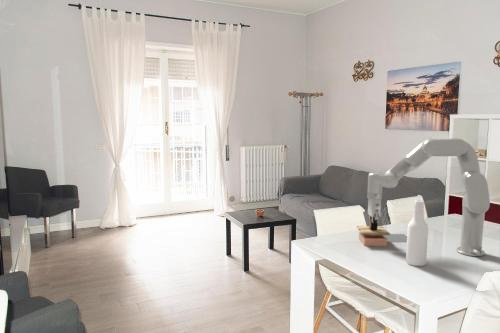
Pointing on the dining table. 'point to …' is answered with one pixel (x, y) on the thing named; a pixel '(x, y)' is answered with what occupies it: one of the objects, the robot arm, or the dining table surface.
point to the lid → (367, 230)
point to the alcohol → (417, 237)
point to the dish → (373, 240)
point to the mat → (396, 238)
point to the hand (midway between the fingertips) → (372, 228)
